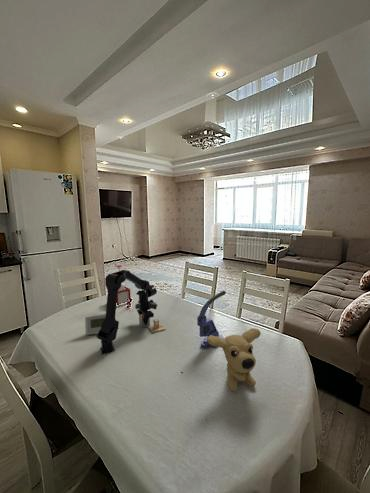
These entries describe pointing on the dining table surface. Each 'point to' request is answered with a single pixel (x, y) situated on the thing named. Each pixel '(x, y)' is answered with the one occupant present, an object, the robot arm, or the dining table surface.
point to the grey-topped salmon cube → (143, 322)
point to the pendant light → (122, 292)
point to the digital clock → (94, 323)
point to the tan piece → (156, 326)
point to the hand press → (208, 323)
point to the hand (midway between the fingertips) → (144, 323)
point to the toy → (238, 356)
